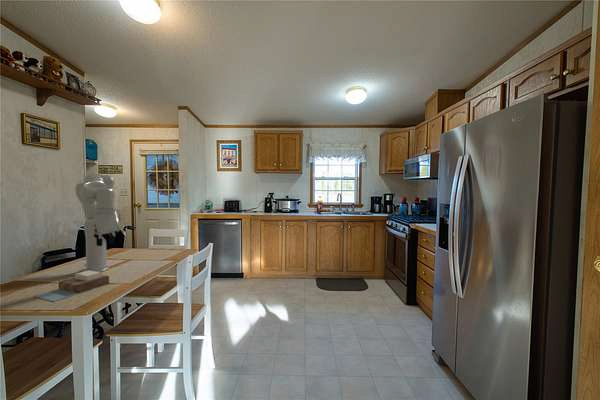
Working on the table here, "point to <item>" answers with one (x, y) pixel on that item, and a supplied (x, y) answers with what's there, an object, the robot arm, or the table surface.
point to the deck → (83, 284)
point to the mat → (55, 295)
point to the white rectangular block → (87, 275)
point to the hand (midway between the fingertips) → (105, 244)
